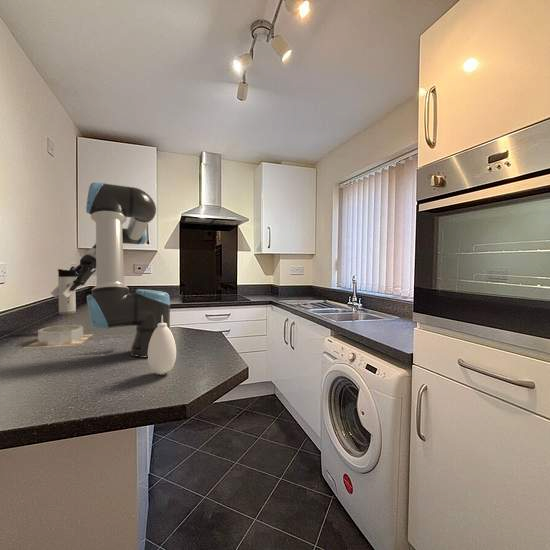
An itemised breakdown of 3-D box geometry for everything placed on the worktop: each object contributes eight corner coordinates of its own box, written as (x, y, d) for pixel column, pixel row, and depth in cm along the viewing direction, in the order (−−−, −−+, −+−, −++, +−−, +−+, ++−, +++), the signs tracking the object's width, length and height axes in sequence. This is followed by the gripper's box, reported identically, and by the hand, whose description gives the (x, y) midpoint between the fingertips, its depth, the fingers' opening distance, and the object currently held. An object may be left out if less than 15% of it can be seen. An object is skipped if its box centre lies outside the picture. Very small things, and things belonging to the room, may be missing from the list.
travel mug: (63, 312, 136) (62, 269, 136) (78, 312, 137) (78, 269, 136) (54, 314, 130) (53, 269, 129) (70, 314, 130) (69, 269, 130)
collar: (75, 344, 115) (75, 331, 115) (31, 346, 111) (31, 333, 111) (87, 335, 129) (87, 324, 129) (48, 337, 125) (48, 325, 125)
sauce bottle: (159, 381, 83) (159, 317, 82) (142, 375, 87) (142, 315, 86) (181, 373, 89) (181, 314, 89) (164, 368, 93) (164, 311, 93)
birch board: (78, 348, 114) (78, 344, 114) (23, 351, 109) (23, 348, 109) (93, 337, 131) (93, 334, 131) (45, 339, 126) (45, 336, 126)
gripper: (111, 265, 144) (80, 301, 129) (82, 265, 150) (49, 300, 135) (102, 253, 139) (68, 290, 124) (72, 254, 145) (37, 289, 130)
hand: (59, 295), depth 130 cm, fingers closed on travel mug, 6 cm apart
